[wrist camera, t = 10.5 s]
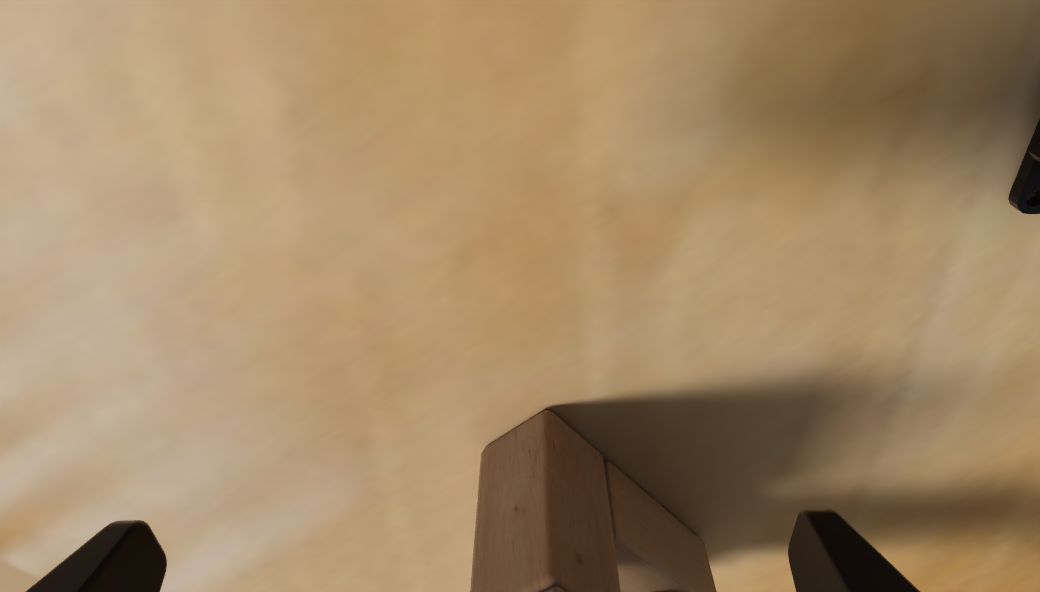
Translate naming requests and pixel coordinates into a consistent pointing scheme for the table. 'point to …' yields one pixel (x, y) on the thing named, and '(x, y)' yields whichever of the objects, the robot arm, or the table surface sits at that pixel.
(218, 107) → the table surface
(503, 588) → the brown post on base
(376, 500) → the table surface
